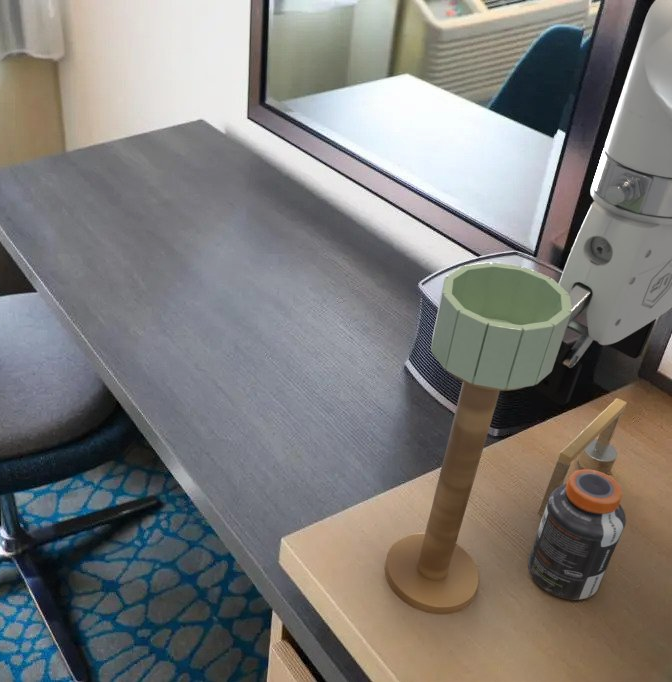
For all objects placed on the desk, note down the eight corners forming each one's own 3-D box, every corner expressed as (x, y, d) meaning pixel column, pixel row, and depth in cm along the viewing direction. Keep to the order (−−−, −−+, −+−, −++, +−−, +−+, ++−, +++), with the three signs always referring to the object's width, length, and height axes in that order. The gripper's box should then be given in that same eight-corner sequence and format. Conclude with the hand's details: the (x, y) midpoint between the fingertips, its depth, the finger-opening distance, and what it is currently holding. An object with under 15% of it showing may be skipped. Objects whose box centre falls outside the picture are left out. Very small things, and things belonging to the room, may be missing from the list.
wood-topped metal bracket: (586, 447, 83) (611, 387, 78) (617, 464, 81) (644, 402, 76) (526, 507, 77) (548, 445, 72) (557, 526, 75) (582, 464, 70)
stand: (494, 579, 71) (573, 353, 55) (442, 632, 67) (512, 405, 51) (418, 527, 76) (471, 307, 60) (366, 574, 72) (408, 351, 56)
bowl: (573, 353, 55) (594, 294, 52) (512, 405, 51) (530, 345, 48) (471, 307, 60) (485, 250, 57) (408, 351, 56) (419, 293, 53)
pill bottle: (612, 599, 68) (653, 508, 62) (546, 605, 68) (580, 514, 62) (576, 545, 73) (611, 456, 67) (515, 551, 73) (543, 462, 66)
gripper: (635, 241, 48) (560, 441, 58) (778, 165, 55) (688, 355, 65) (529, 197, 53) (477, 388, 63) (672, 132, 60) (605, 313, 70)
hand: (585, 371), depth 64 cm, fingers open, 9 cm apart
